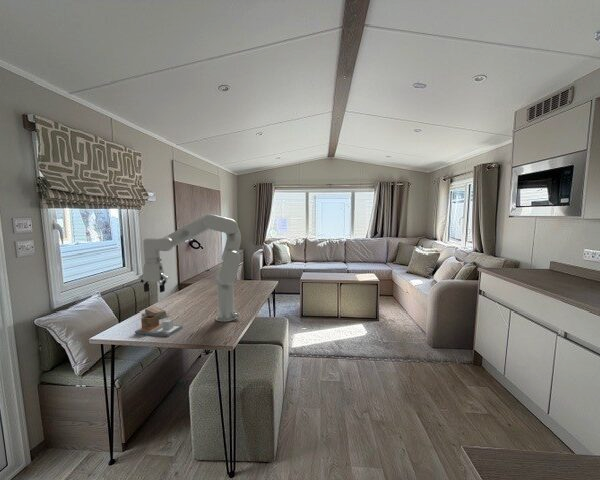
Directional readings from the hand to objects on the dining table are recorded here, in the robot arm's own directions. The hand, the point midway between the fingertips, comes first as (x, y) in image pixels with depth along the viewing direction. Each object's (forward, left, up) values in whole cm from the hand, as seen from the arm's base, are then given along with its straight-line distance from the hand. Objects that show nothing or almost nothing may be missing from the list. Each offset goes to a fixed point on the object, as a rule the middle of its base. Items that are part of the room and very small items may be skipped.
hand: (154, 291), depth 162 cm
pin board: (-5, +3, -21) cm, 21 cm away
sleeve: (+1, +3, -19) cm, 19 cm away
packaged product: (+16, -19, -21) cm, 33 cm away
